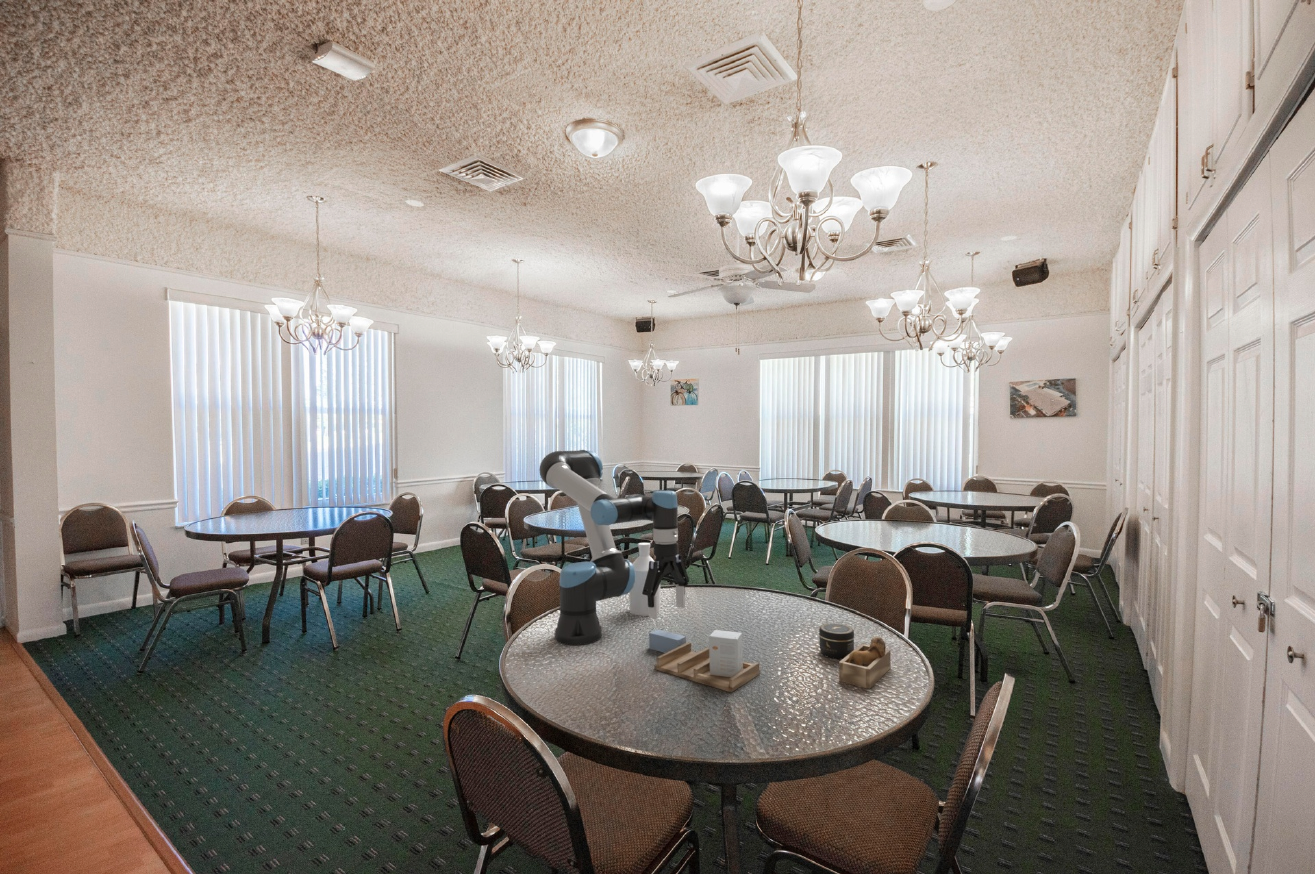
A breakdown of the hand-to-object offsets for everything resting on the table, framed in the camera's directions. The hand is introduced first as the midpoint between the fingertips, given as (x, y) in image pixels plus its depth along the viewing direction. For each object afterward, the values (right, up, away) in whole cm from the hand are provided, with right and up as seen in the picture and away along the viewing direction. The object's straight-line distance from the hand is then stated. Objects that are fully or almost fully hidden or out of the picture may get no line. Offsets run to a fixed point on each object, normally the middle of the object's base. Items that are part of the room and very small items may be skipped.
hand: (667, 612), depth 179 cm
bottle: (-8, -12, +41) cm, 43 cm away
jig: (+11, -12, -16) cm, 22 cm away
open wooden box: (+53, -11, -19) cm, 58 cm away
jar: (+50, -11, -4) cm, 52 cm away
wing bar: (0, -12, 0) cm, 12 cm away
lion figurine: (+53, -11, -19) cm, 58 cm away
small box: (+16, -11, -20) cm, 27 cm away
